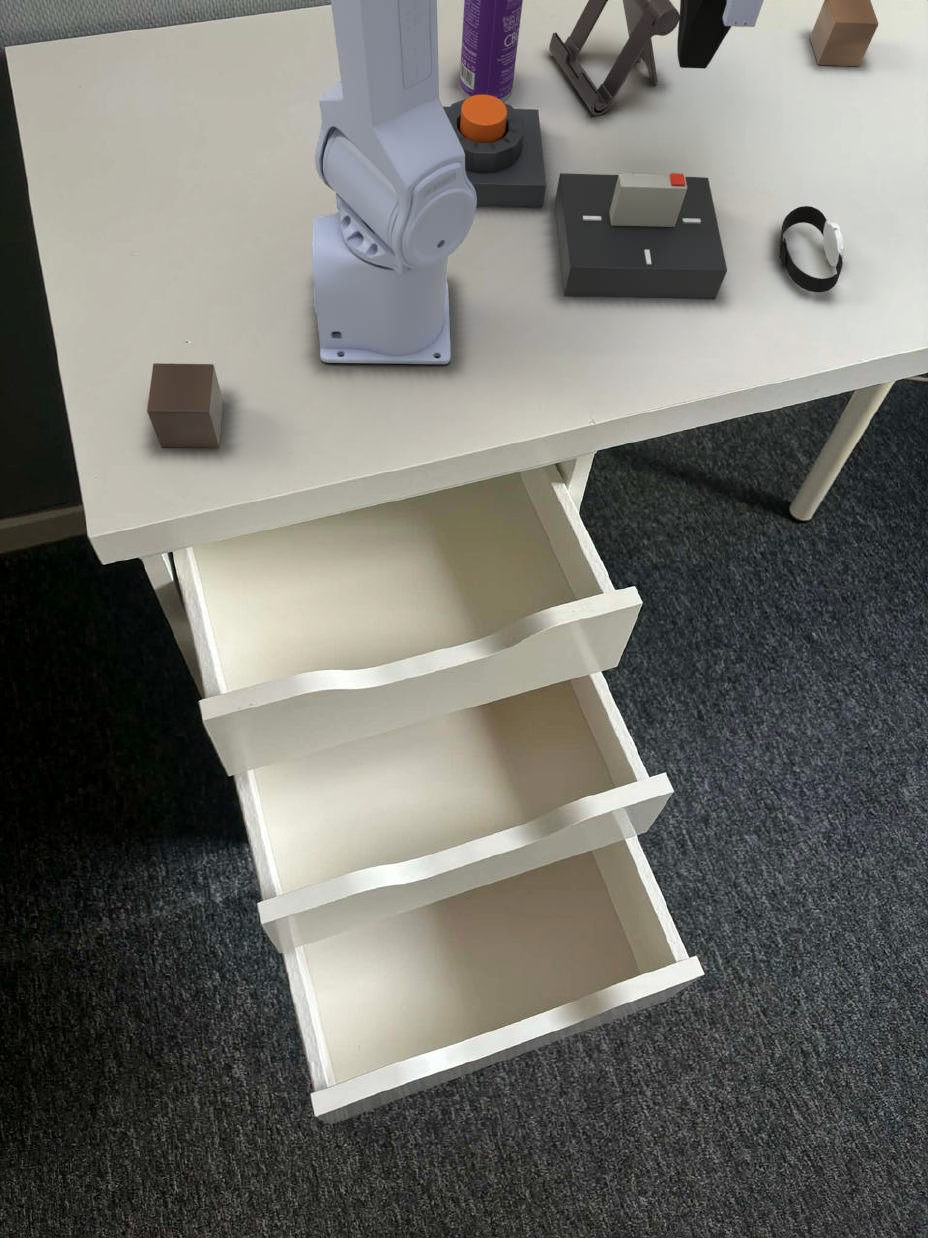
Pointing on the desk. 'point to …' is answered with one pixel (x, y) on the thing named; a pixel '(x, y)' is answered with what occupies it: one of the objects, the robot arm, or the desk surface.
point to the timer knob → (647, 199)
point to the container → (489, 47)
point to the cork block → (843, 32)
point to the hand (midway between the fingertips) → (691, 61)
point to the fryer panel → (636, 244)
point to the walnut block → (185, 405)
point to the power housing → (505, 160)
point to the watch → (831, 245)
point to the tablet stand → (644, 20)
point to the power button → (483, 118)
